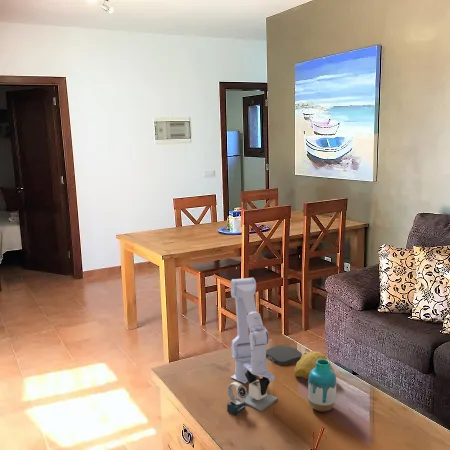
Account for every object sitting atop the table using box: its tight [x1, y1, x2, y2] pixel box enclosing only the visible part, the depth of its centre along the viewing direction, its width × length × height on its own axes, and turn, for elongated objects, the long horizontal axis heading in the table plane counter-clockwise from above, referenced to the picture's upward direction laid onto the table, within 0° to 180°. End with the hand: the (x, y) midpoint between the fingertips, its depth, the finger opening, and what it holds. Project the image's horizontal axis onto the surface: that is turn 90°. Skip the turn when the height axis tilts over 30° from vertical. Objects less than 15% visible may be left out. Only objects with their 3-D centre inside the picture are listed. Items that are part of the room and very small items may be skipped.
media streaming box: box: [266, 345, 303, 366], centre depth 234 cm, size 15×15×3 cm
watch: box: [226, 381, 248, 416], centre depth 188 cm, size 6×8×11 cm
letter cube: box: [248, 379, 268, 400], centre depth 195 cm, size 5×5×5 cm
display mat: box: [244, 392, 278, 412], centre depth 196 cm, size 11×11×1 cm
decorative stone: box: [293, 350, 335, 380], centre depth 213 cm, size 13×15×15 cm
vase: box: [307, 358, 337, 412], centre depth 189 cm, size 11×11×19 cm
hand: (258, 391), depth 195 cm, fingers closed on letter cube, 5 cm apart
